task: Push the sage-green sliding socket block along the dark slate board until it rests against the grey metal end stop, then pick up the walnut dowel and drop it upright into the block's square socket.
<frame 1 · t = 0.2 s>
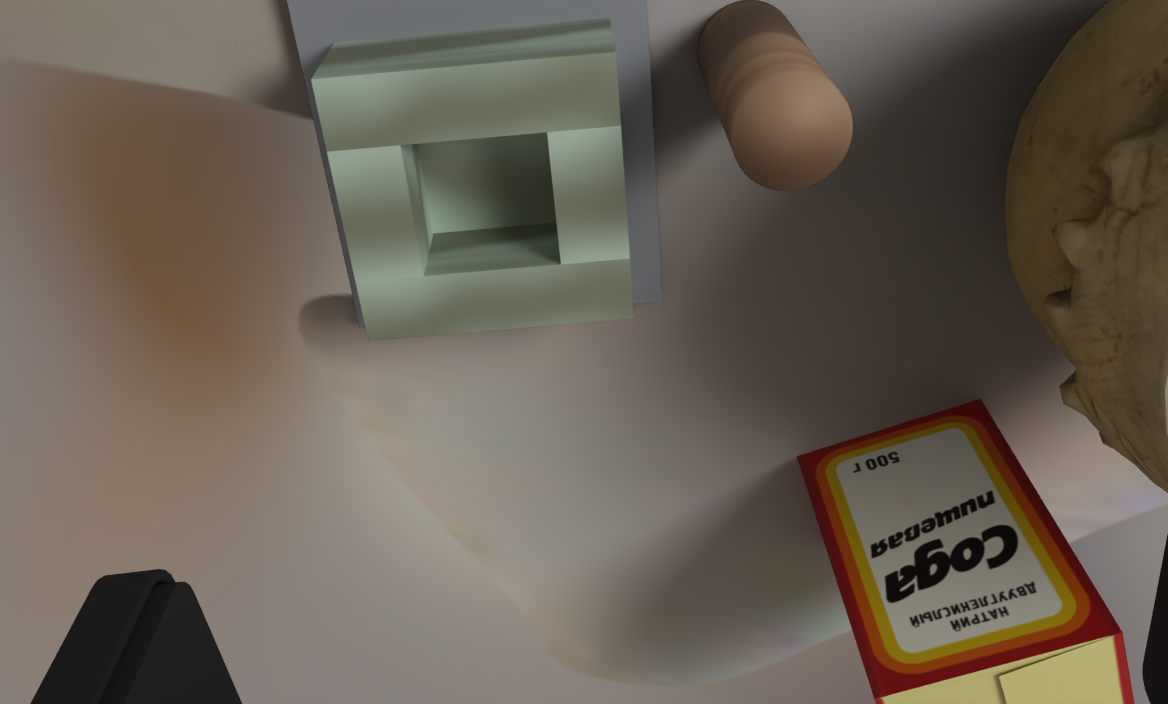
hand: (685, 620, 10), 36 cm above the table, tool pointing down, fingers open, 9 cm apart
baking soda box: (900, 473, 56), on the table
socket block: (486, 182, 43), point 3 cm above the table, slide at 0.0 cm, touching rail board
clay pot: (1166, 103, 46), on the table
rail board: (472, 24, 43), on the table
dowel: (745, 49, 44), on the table
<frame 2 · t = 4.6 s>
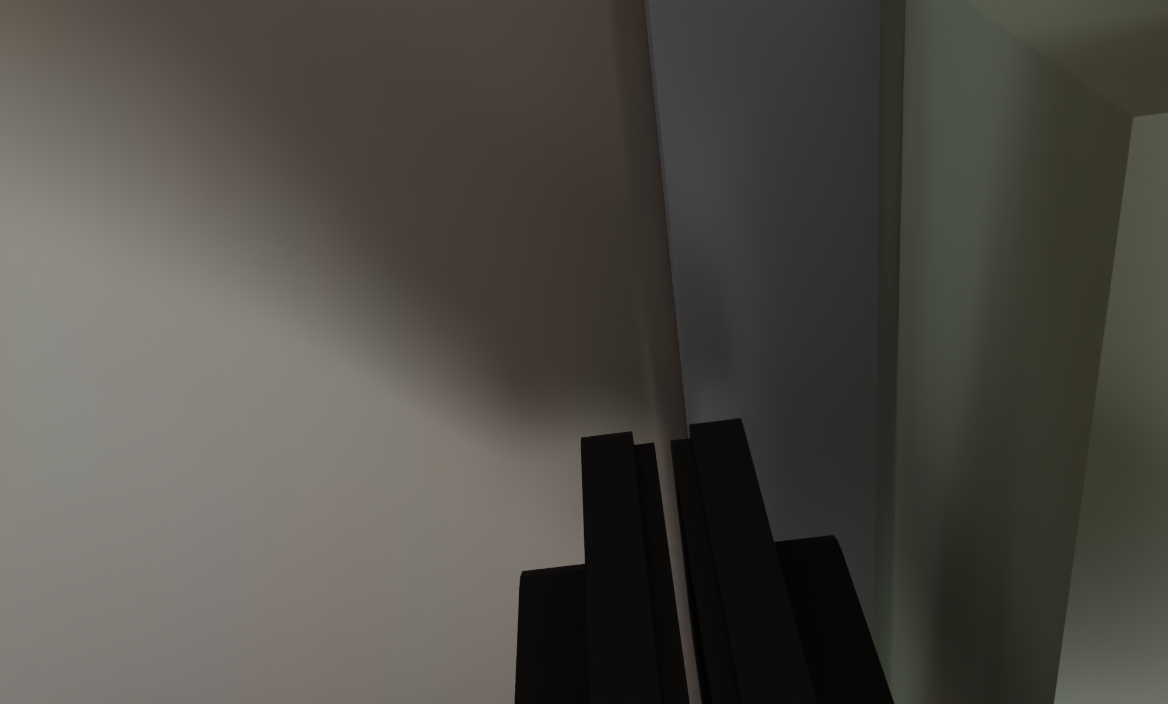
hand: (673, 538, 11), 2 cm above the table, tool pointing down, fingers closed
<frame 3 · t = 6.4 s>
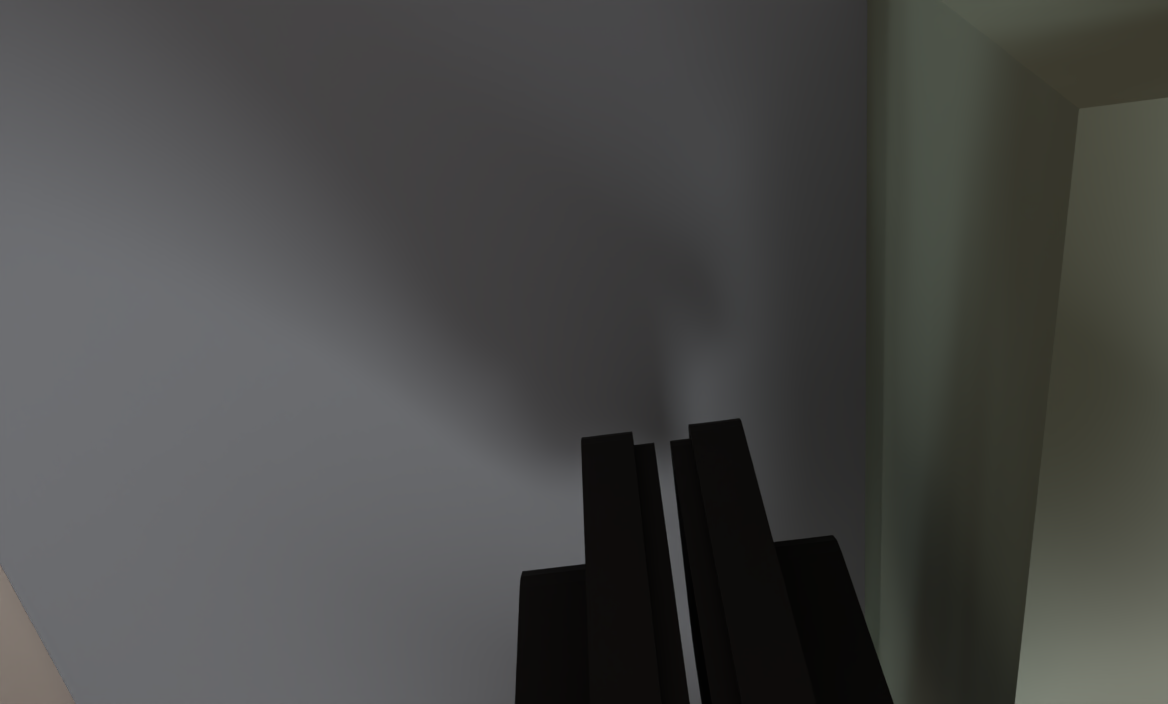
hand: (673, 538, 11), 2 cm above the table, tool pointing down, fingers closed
rail board: (1024, 375, 13), on the table
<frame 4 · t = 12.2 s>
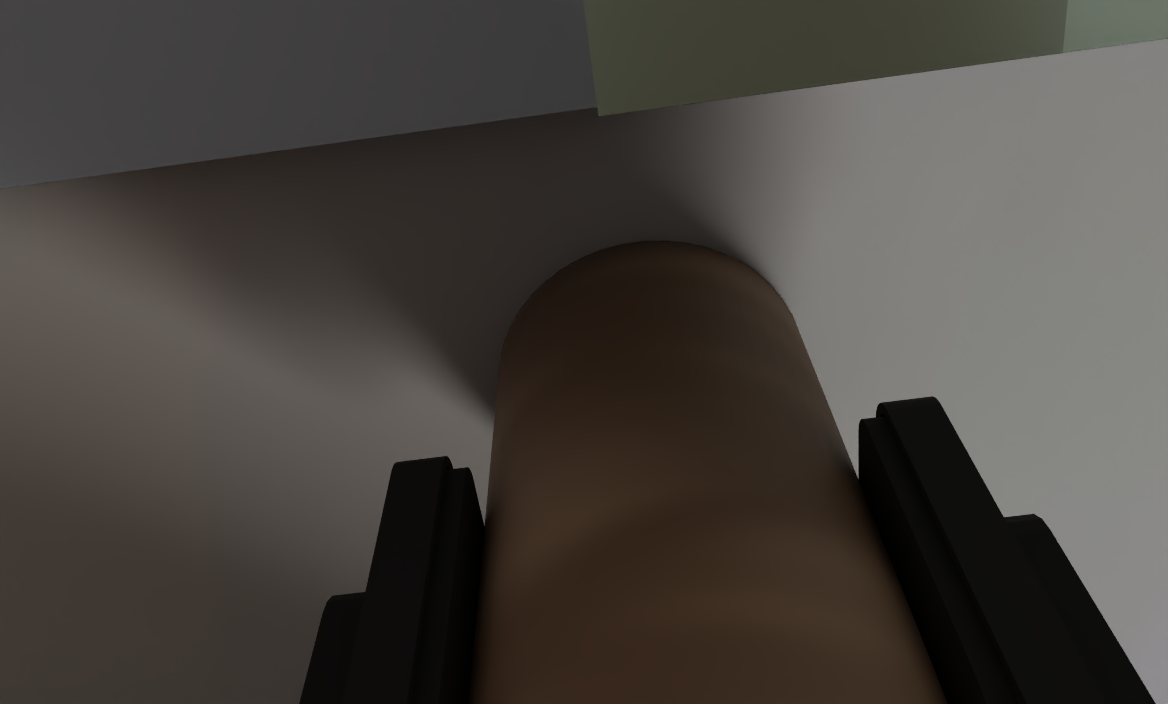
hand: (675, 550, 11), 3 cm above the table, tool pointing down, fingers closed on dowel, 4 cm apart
dowel: (651, 380, 14), on the table, touching gripper
when the fingers open (6 cm above the table, at t = 18.0 s): dowel stays where it is, resting on socket block.
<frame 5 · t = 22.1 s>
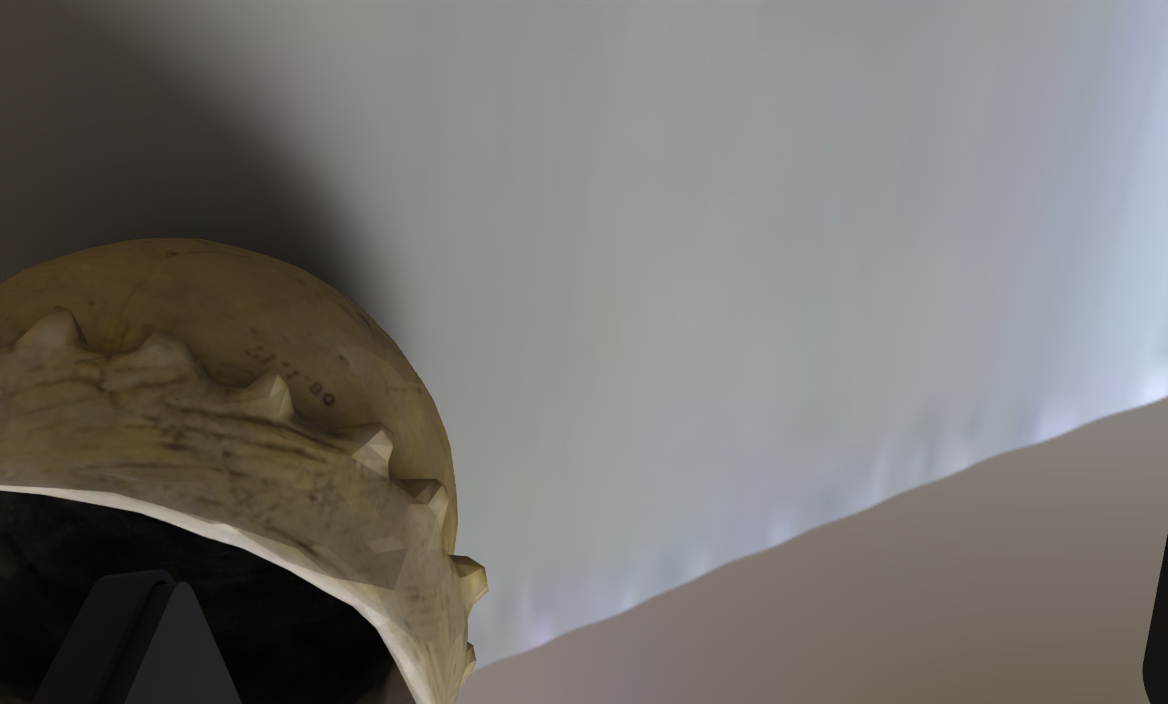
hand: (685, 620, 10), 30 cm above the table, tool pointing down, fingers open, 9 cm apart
clay pot: (252, 373, 44), on the table
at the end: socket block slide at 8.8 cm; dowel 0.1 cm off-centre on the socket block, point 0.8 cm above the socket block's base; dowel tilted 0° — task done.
